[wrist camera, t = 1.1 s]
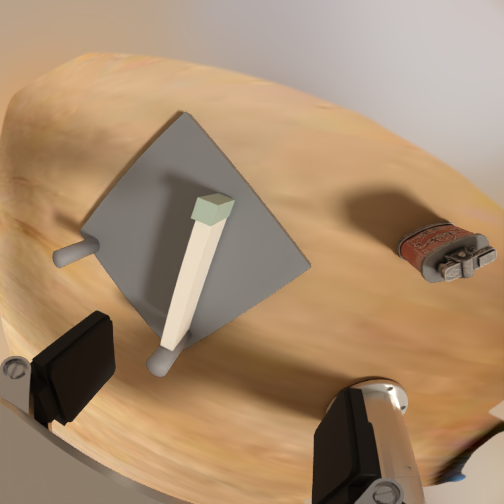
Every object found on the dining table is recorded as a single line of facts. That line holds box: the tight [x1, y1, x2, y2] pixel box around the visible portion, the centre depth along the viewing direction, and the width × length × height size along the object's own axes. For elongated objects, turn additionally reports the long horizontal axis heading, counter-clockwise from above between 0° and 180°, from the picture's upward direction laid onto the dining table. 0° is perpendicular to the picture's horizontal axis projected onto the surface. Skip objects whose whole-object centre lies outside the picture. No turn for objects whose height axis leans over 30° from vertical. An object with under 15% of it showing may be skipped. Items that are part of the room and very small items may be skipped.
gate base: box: [53, 112, 311, 377], centre depth 27 cm, size 21×21×9 cm
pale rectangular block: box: [160, 193, 235, 351], centre depth 27 cm, size 16×2×6 cm, turn 159°
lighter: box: [397, 222, 497, 283], centre depth 22 cm, size 8×3×10 cm, turn 111°
